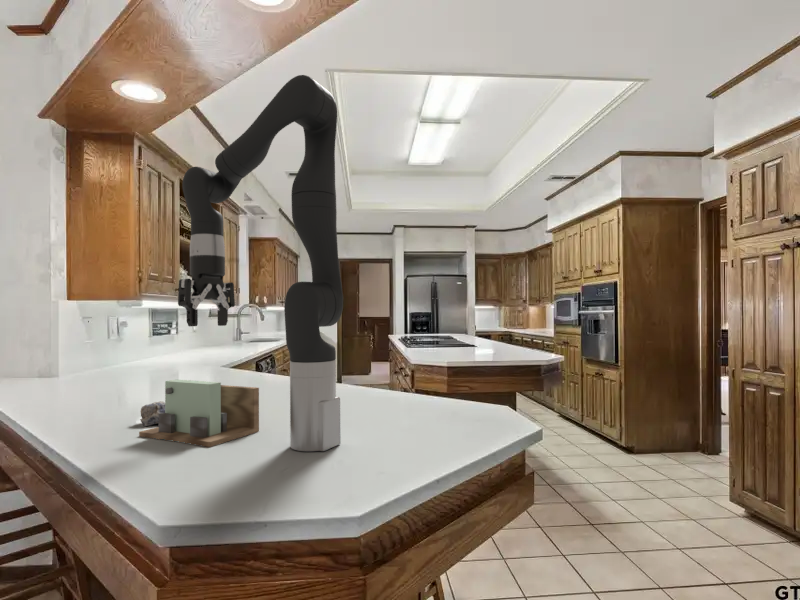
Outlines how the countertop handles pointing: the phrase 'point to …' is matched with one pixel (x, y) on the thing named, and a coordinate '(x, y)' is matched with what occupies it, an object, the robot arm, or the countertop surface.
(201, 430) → the hinge base
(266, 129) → the robot arm
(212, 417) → the cabinet door
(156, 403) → the mineral specimen
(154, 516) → the countertop surface
